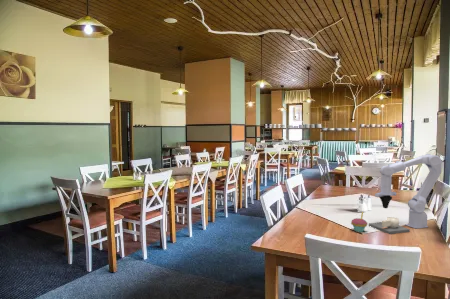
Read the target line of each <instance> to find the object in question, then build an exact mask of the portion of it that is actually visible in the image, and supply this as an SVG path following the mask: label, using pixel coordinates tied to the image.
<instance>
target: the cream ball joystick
mask: <svg viewBox="0 0 450 299" xmlns="http://www.w3.org/2000/svg"><path fill="white" fill-rule="evenodd" d="M381 222H382V227H387V226H394V227H397V226H400V225H399V224H400V219H399V218H398V217H394V216H393V217H392V216H391V217H387V218H386V219H384V220H381Z"/></svg>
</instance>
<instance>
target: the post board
mask: <svg viewBox="0 0 450 299" xmlns="http://www.w3.org/2000/svg"><path fill="white" fill-rule="evenodd" d="M368 226H369V227H370V226H371V227H370V228H373V229H375V228H376V230H377V231H381V232H383V233H385V234H388V235H394V234H403V233H410V232H411V231H410V229H409V228H407V227H404V226H401V225H399V226H397V227H394V226H387V227H382V221H380V222H369V223H368Z"/></svg>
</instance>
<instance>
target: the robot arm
mask: <svg viewBox="0 0 450 299" xmlns="http://www.w3.org/2000/svg"><path fill="white" fill-rule="evenodd" d="M420 164H423V165H425V166H426V167H427V168H428V170H429V172H428V174H427V176H426V178H424V180H423V183H422V184H421V186H420V188H419V190H418V191H417V193H416V194H415V195H413V197H412V198H411V199H410V200H409V199H408V202H407V206H408V208H409V209H408V223H405V224H404V226H407V227H410V228H414V229H423V228H429V226H428V214H427V213H426V211H425V209H426V204H427V198H428V197H429V194H430V193H431V191H432V190H433V188H434V186H435V184H436V183H437V181H438V180H439V177H440V176H441V174H442V164H443V161H442V159H441V157H440V156H439V155H436V154H431V153H426V154H422V155H419V156H417V157H415V158H414V157H413V158H412V159H409V160H406V161H402V160H401V161H399V160H396V161H395V162H394V163H391V164H390V163H389V164H387V165H383V166H381V167H380V169H379V172H380V175H381V176H380V192H377V193H374V197H375V198H379V199H380V201H381V204H382V208H384V209H388V208H389V204H390V202H391V200H392V199H393V196H396V197H397V192H396V191H392V176H393V174H397V173H400V172H402V171H405V170H406V169H407V167H411V166H415V165H420Z"/></svg>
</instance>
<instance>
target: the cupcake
mask: <svg viewBox="0 0 450 299" xmlns="http://www.w3.org/2000/svg"><path fill="white" fill-rule="evenodd" d="M363 214H364V211H362V212H361V214H360V216H361V217H360V218H359V217H357V218H353V219H351V222H350V224H351V226H353V230H354V232H358V233H363V232H364V231H365V228H366V227H368V222H367V221H366V220H365V219H363V216H364V215H363Z"/></svg>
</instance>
